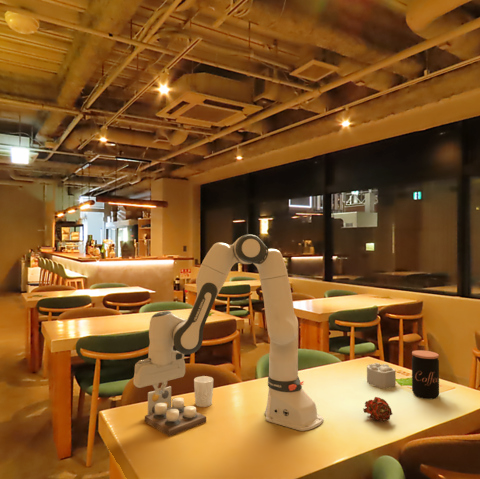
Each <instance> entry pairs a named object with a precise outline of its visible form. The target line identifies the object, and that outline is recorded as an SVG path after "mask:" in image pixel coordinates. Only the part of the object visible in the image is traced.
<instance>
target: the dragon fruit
mask: <svg viewBox="0 0 480 479" xmlns="http://www.w3.org/2000/svg"><path fill="white" fill-rule="evenodd" d="M364 407H365V408H362V409H363V413H365V414H368V415H370V416H369V417H370V419H371V420H373V421H374V420H376V421H379V422H384V421H389V420H390V419H391V416H392V415H393V412H392V408H391V406H390V404H389V403H388V402H387V400H386V399H384V398H381V397H378V396H375V397H374V399H369V400H366V401H365V403H364Z"/></svg>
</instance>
